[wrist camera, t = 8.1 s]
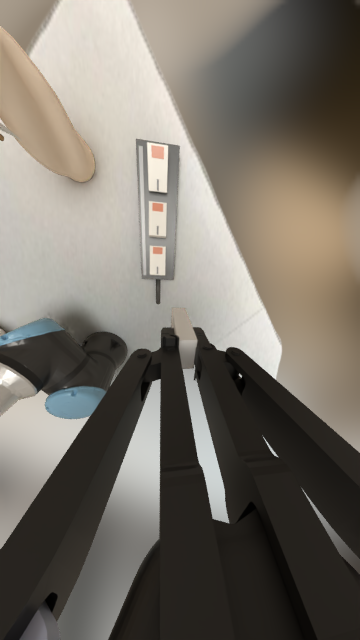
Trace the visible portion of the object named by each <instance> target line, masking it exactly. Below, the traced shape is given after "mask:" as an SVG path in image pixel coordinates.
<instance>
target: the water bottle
mask: <svg viewBox="0 0 360 640" xmlns="http://www.w3.org/2000/svg"><path fill="white" fill-rule="evenodd" d="M0 118H1V120H2V121H3V123H4V124H5V126H6V127H7V128H8V129H7V128H6V127H5V126H3V125H2V124H1V123H0V130H2V131H4V132H6V133H8V134H10V135H12V136H14V138H15V139H16V140H17V141H18V143H19V144H20V145H21V146H22V147H23V148H24V149H25V150H26V151H27V152H28V153H29V154H30V155H31V156H32V157H33V158H34V159H35V160H37V161H38V162H39V163H40V164H42V165H43V166H44V167H46V168H47V169H49V170H51V171H52V172H54V173H56V174H59V175H63V176H68V177H70V178H72V179H73V180H75V181H78V182H86V181H88V180H90V179H91V178H92V176H93V174H94V171H95V160H94V156H93V154H92V151H91V150H90V148H89V146H88V145H87V144H86V143H85V141H84V140H83V139H82V138H81V136H80V135H79V134H78V133H77V131H76V130H75V129H74V127H73V125H72V123H71V121H70V119H69V117H68V115H67V113H66V111H65V110H64V108H63V106H62V104H61V102H60V100H59V99H58V97H57V95H56V94H55V92H54V91H53V89H52V88H51V86H50V85H49V83H48V82H47V81H46V79H45V78H44V76H43V75H42V74H41V72H40V71H39V69H38V68H37V67H36V66H35V64H34V63H33V62H32V61H31V59H30V58H29V57H28V55H27V54H26V53H25V51H24V50H23V49H22V48H21V47H20V45H19V44H18V43H17V42H16V41H15V39H14V38H13V37H12V36H11V35H10V34H9V33H7V32H6V31H5V30H4V29H3V28H2V27H1V26H0ZM0 140H1V141H3V140H4V137H3V136H2V135H1V134H0Z"/></svg>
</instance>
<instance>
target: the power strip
mask: <svg viewBox="0 0 360 640" xmlns="http://www.w3.org/2000/svg"><path fill="white" fill-rule="evenodd" d="M147 142H149V143H155V144H162V145H168V171H167V193H165V192H156V191H149V184H148V154H147ZM179 149H180V146H178V145H172V144H165V143H159V142H153V141H147V140H140V139H136V152H137V175H138V199H139V223H140V246H141V270H142V279H156V303H157V304H160V279H164V280H173V279H174V257H175V236H176V214H177V192H178V171H179ZM149 201H153V202H162V203H167V214H166V238H156V237H149ZM150 246H163V247H166V259H165V276H160V275H150Z"/></svg>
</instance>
